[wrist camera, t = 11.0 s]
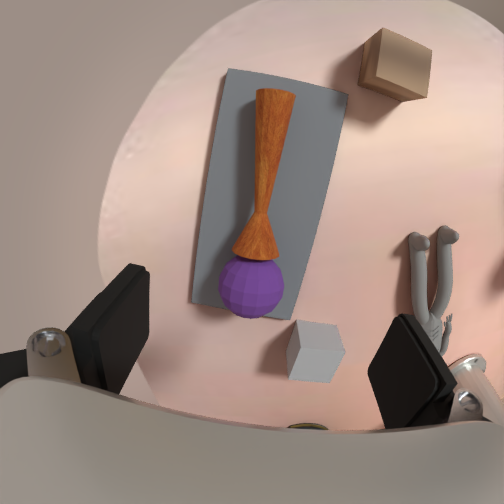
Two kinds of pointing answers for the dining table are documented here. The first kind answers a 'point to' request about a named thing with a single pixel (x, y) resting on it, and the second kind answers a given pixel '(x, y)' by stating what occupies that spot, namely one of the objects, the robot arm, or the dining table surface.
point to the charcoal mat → (285, 187)
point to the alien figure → (445, 280)
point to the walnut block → (395, 66)
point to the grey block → (314, 352)
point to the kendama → (259, 217)
